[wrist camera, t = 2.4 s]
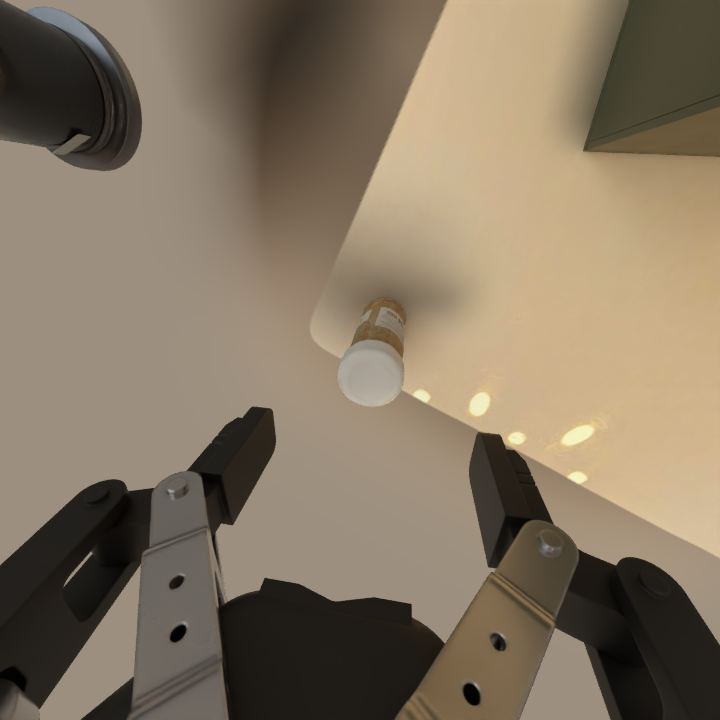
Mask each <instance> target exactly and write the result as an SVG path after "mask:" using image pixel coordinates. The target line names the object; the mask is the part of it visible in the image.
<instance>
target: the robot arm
mask: <svg viewBox="0 0 720 720" xmlns="http://www.w3.org/2000/svg"><path fill="white" fill-rule="evenodd" d="M114 122H115V107H114V100H113V96H112V92H111V88H110V85H109V83H108V80H107V78H106V75H105V73H104V71H103V69H102V68H101V66H100V64H99V62H98V61H97V59H96V58H95V57H94V55H93V54H92V53H91V51H90V50H89V49H88V48H87V47H86V46H85V45H84V44H83V43H82V42H81V41H80V40H79V39H77V38H76V37H75V36H73V35H72V34H70V33H69V32H67V31H65V30H63V29H61V28H59V27H57V26H55V25H53V24H50V23H47V22H44V21H42V20H40V19H38V18H36V17H34V16H32V15H30V14H28V13H26V12H24V11H22V10H21V9H19V8H17V7H15V6H13V5H11V4H9V3H7V2H5V1H3V0H0V140H5V141H12V142H18V143H24V144H30V145H36V146H42V147H47V148H53V149H56V150H55V151H54V152H52V153H54V154H60V155H66V154H67V153H69V152H71V153H76V154H93V153H96V152H98V151H100V150H101V149H102V148H103V147H104V146H105V145H106V144H107V143H108V141H109V139H110V138H111V135H112V132H113V129H114ZM275 445H276V435H275V427H274V417H273V411H272V409H270V408H262V407H251V408H250V409H249V411H248V412H247V413H246V414H245V415H244V417H243V418H236V419H234V420H233V421H231V422H230V423H228V424H227V425H226V426H225V427H224V428H223V429H222V430H221V431H220V433H219V434H218V436H216V437H215V438H214V439H213V441H212V443H210V444H209V445H208V447H207V448H206V449H205V450H204V451H203V452H202V454H201V455H200V456H199V457H198V458H197V459H196V461H195V462H194V463H193V464H192V465H191V467H190V468H189V469H188V470H187V471H184V472H179V473H175V474H173V475H170V476H168V477H167V478H165V479H164V480H162V481H161V482H160V483H159V484H158V485H157V486H156V487H155V488H150V489H143V490H135V491H128V490H127V487H126V485H125V483H124V482H122V481H120V480H115V479H112V480H105V481H101V482H98V483H96V484H93V485H91V486H89V487H87V488H86V489H84V490H83V491H81V492H80V493H79V494H77V495H76V496H75V497H74V498H73V499H72V500H71V501H70V502H69V503H68V504H66V505H65V506H64V507H63V508H62V509H61V510H60V511H59V512H58V513H57V514H56V515H54V517H52V518H51V519H50V520H49V521H48V522H47V523H46V524H45V525H44V526H43V527H41V528H40V529H39V530H38V531H37V532H36V533H35V534H34V535H33V536H32V537H31V538H30V539H29V540H28V541H26V542H25V543H24V544H23V545H22V546H21V547H20V548H19V549H18V550H17V551H15V552H14V553H13V554H12V555H11V556H10V557H9V558H8V559H7V560H6V561H4V562H3V563H2V564H1V565H0V720H40V713H39V709H40V708H41V706H42V705H43V703H44V702H45V701H46V699H47V698H48V696H49V695H50V693H51V692H52V691H53V689H54V688H55V686H56V685H57V683H58V682H59V681H60V679H61V678H62V676H63V675H64V673H65V672H66V671H67V669H68V668H69V666H70V665H71V663H72V662H73V660H74V659H75V658H76V656H77V655H78V653H79V652H80V650H81V649H82V648H83V646H84V645H85V643H86V642H87V640H88V639H89V638H90V636H91V635H92V633H93V632H94V630H95V629H96V627H97V626H98V625H99V623H100V622H101V620H102V619H103V617H104V616H105V615H106V613H107V612H108V610H109V609H110V607H111V606H112V605H113V603H114V602H115V600H116V599H117V597H118V596H119V594H120V593H121V592H122V590H123V589H124V587H125V586H126V584H127V583H128V582H129V580H130V578H131V577H132V576H133V574H134V573H135V572H136V570H137V569H138V567H139V566H140V564H141V574H140V589H139V590H140V591H139V605H138V621H137V637H136V651H135V668H134V677H132V678H131V679H130V680H129V681H128V682H126V683H125V684H124V685H123V686H121V687H120V688H119V689H118V690H116V691H115V692H114V693H113V694H112V695H111V696H109V697H108V698H107V699H105V700H104V701H103V702H102V703H101V704H99V705H98V706H97V707H96V708H94V709H93V710H92V711H91V712H90V713H88V714H87V715H86V716H85V717H83V718H82V719H81V720H519V719H520V717H521V714H522V711H523V708H524V706H525V704H526V701H527V698H528V696H529V693H530V691H531V688H532V686H533V683H534V680H535V678H536V675H537V673H538V670H539V668H540V665H541V662H542V660H543V657H544V655H545V652H546V649H547V647H548V644H549V642H550V639H551V637H552V634H553V631H554V628H557V629H559V630H561V631H563V632H564V633H566V634H568V635H570V636H572V637H574V638H577V639H578V640H580V641H582V642H584V644H585V647H586V649H587V653H588V655H589V658H590V661H591V664H592V667H593V670H594V673H595V676H596V679H597V681H598V684H599V687H600V690H601V693H602V696H603V699H604V702H605V704H606V707H607V710H608V713H609V716H610V719H611V720H720V645H719V643H718V642H717V640H716V639H715V637H714V636H713V634H712V633H711V631H710V630H709V628H708V626H707V625H706V623H705V622H704V620H703V619H702V617H701V616H700V614H699V613H698V612H697V610H696V608H695V607H694V605H693V604H692V602H691V601H690V599H689V598H688V596H687V594H686V593H685V591H684V590H683V589H682V587H681V586H680V585H679V584H678V583H677V582H676V581H675V580H674V579H673V578H672V577H671V576H670V575H668V574H667V573H666V572H665V571H663V570H662V569H660V568H659V567H657V566H655V565H654V564H652V563H650V562H647V561H645V560H642V559H639V558H634V557H626V558H623V559H621V560H620V561H619V562H618V564H617V565H616V566H615V565H613V564H611V563H608V562H606V561H603V560H601V559H598V558H596V557H594V556H591V555H589V554H587V553H584V552H582V551H581V550H579V549H577V547H576V545H575V543H574V542H573V540H572V539H571V538H570V537H569V536H568V535H567V534H566V533H565V532H564V531H563V530H561V529H560V528H558V527H557V526H555V525H554V524H553V522H552V520H551V517H550V515H549V513H548V510H547V508H546V506H545V504H544V502H543V499H542V497H541V495H540V493H539V490H538V488H537V486H535V481H534V480H533V477H532V476H531V472H530V470H529V468H528V466H527V464H526V462H525V460H524V459H523V458H522V457H520V455H519V454H518V453H517V452H516V451H515V450H507V449H506V448H505V445H504V442H503V440H502V437H501V436H500V435H499V434H490V433H481V432H478V434H477V436H476V440H475V444H474V448H473V452H472V457H471V461H470V467H469V478H470V484H471V489H472V493H473V497H474V503H475V507H476V512H477V516H478V521H479V526H480V531H481V535H482V540H483V545H484V550H485V554H486V559H487V564H488V567H490V568H497V569H496V570H495V572H494V573H493V572H491V573H490V574H489V576H488V577H487V578H486V580H485V581H484V583H483V585H482V586H481V588H480V589H479V591H478V593H477V594H476V596H475V598H474V599H473V601H472V602H471V604H470V605H469V607H468V609H467V610H466V612H465V613H464V615H463V617H462V618H461V620H460V621H459V623H458V625H457V626H456V628H455V629H454V631H453V632H452V634H451V635H450V637H449V639H448V640H447V642H446V643H444V642H443V641H442V640H441V639H440V638H439V637H438V636H437V635H436V634H435V633H434V632H433V631H432V630H430V629H429V628H428V627H427V626H425V625H424V624H422V623H421V622H419V621H417V620H416V619H414V618H412V606H411V604H408V603H402V602H397V601H392V600H386V599H380V598H375V597H374V598H364V599H355V600H346V601H338V602H335V601H331V600H329V599H327V598H325V597H323V596H321V595H319V594H317V593H316V592H314V591H312V590H310V589H308V588H306V587H304V586H302V585H300V584H296V583H291V582H285V581H279V580H273V579H268V578H265V579H264V581H263V584H262V586H261V588H260V590H259V591H254V592H250V593H246V594H243V595H241V596H238V597H236V598H234V599H232V600H230V601H229V602H228V601H227V596H226V592H225V587H224V580H223V574H222V567H221V561H220V554H219V548H218V543H217V536H216V531H217V529H218V528H219V526H220V524H221V523H223V524H228V525H233V524H234V522H235V521H236V519H237V517H238V515H239V513H240V512H241V510H242V508H243V506H244V505H245V503H246V501H247V499H248V497H249V496H250V494H251V492H252V490H253V489H254V487H255V485H256V483H257V481H258V480H259V478H260V476H261V474H262V472H263V471H264V469H265V467H266V465H267V464H268V462H269V460H270V458H271V457H272V455H273V452H274V450H275ZM90 551H91V552H92V553H93V554H92V555H91V556H90V557H89V558H88V560H87V561H86V562H85V563H84V564H83V565H82V567H81V568H80V569H79V570H78V571H77V572H76V574H75V575H74V576H73V577H72V578H71V579H70V581H69V582H68V583H67V584H66V585H65V586H64V584H65V582H66V580H67V579H68V577H69V576H70V574H71V573H72V572H73V571H74V570H75V569H76V568H77V566H78V565H79V564H80V563H81V562H82V561H83V560H84V558H85V557H86V556H87V555H88V554H89V553H90ZM63 587H64V588H63Z"/></svg>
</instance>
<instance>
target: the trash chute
mask: <svg viewBox="0 0 720 720" xmlns="http://www.w3.org/2000/svg"><path fill="white" fill-rule="evenodd" d="M583 151H593V152H617V153H642V154H667V155H692V156H716V157H720V0H630V1H629V4H628V8H627V11H626V14H625V17H624V21H623V24H622V27H621V30H620V34H619V37H618V40H617V43H616V47H615V50H614V53H613V56H612V59H611V63H610V66H609V69H608V72H607V76H606V79H605V82H604V85H603V89H602V92H601V95H600V98H599V102H598V105H597V108H596V111H595V115H594V118H593V121H592V124H591V128H590V131H589V134H588V137H587V140H586V144H585V147H584V150H583Z"/></svg>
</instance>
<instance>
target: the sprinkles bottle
mask: <svg viewBox="0 0 720 720" xmlns="http://www.w3.org/2000/svg"><path fill="white" fill-rule="evenodd" d="M404 325H405V313H404V311H403V309H402V308H401V306H400V305H399V304H398V303H397V302H396V301H394V300H391V299H388V298H378V299H375V300H373V301H372V302H371V303H369V304H368V305H367V306H366V308H365V309H364V312H363V316H362V318H361V320H360V323H359V325H358V328H357V330H356V333H355V335H354V338H353V341H352V344H351V346H350V348H349V349H348V350H347V351H346V352H345V354H344V356H343V358H342V360H341V363H340V365H339V368H338V374H337V378H338V383H339V386H340V388H341V390H342V392H343V393H344V394H345V395H346V397H348V398H349V399H350V400H351V401H353V402H355V403H357V404H359V405H362V406H367V407H378V406H382V405H385V404H387V403H389V402H391V401H392V400H393V399H395V398H396V397H397V396H398V394H399V392H400V391H401V388H402V386H403V379H404V364H403V361H402V357H403V352H404Z"/></svg>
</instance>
